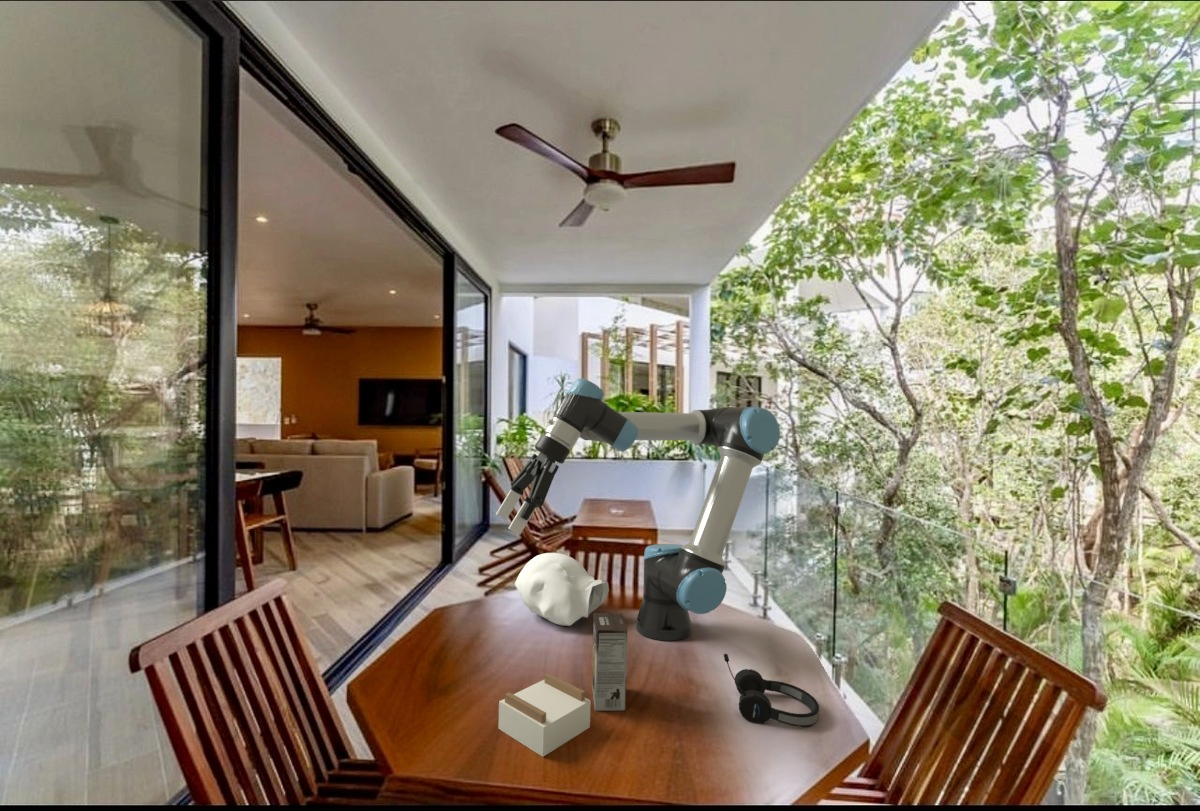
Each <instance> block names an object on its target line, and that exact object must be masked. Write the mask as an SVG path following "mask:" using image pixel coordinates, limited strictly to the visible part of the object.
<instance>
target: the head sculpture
mask: <svg viewBox="0 0 1200 811" xmlns="http://www.w3.org/2000/svg"><path fill="white" fill-rule="evenodd" d="M514 586H515V588H516V589H517V591H518V594H519V596H520V597H521V600H522V602H523V604H524V605H525V606H526V607H527V608H528V609H529V611H530V612H531V613H533V614H536V615H538V616H540V617H542V618H544V619H546V620H548V622H551V623H552V624H556V625H559V626H563V627H564V626H567V627H571V626H572V625H573V624H575V622H577V621H579V620H580V619H581V618H588V617H589V616H590V614H591V613H592V612H594V611H595V610H596V609H598V608H599V607H600V606H601V605H602V604H603V602H605V600H606V599H607V596H608V593H609V591H610V589H609V582H608V581H606V582H603V581H602V579H601V578H600V579H595V578H594V576H591V575H589V573H588V572H587V570H586V569H585V567H584V566H583V564H581V563H580V562H579V561H578V560H576V559H574V558H573V557H571V556H569V555H566V554H563V553H560V552H559V553H558V552H545V553H541V554H538V555H536V556H534V557H533V558H532V559H530V560H529V561H528V562H527V563H525V565H524V567H523V568H522V569H521V570H520V573H519V574H518V576H517V578H516V580H515V582H514Z"/></svg>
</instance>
